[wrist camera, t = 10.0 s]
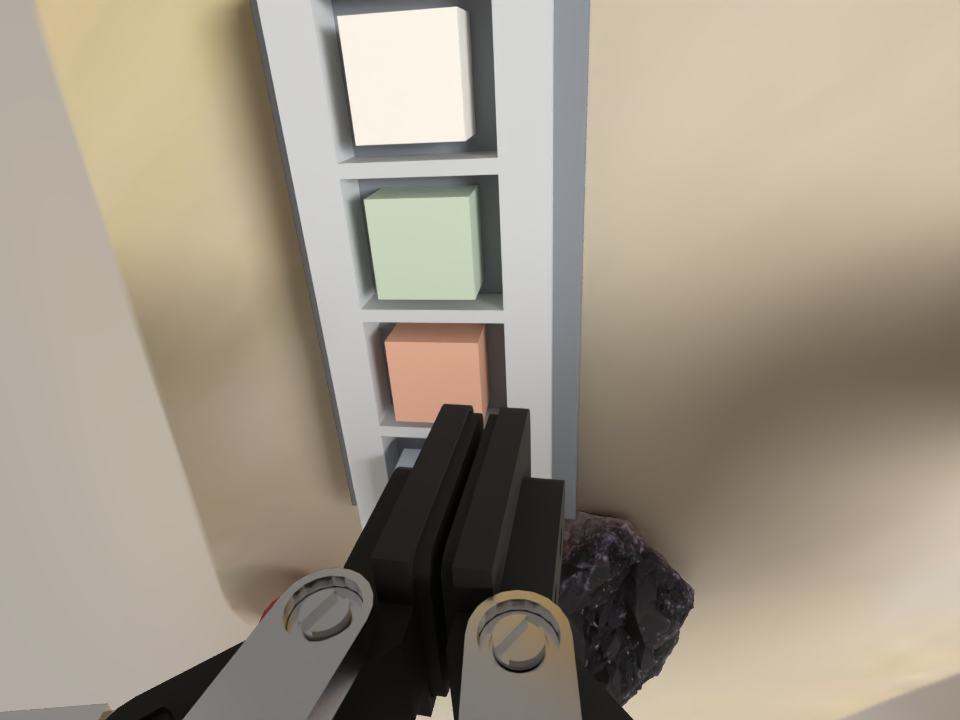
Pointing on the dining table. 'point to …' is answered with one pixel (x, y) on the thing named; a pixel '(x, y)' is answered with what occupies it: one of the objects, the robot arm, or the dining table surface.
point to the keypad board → (477, 161)
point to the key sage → (426, 242)
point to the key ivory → (409, 75)
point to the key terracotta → (437, 368)
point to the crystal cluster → (619, 602)
